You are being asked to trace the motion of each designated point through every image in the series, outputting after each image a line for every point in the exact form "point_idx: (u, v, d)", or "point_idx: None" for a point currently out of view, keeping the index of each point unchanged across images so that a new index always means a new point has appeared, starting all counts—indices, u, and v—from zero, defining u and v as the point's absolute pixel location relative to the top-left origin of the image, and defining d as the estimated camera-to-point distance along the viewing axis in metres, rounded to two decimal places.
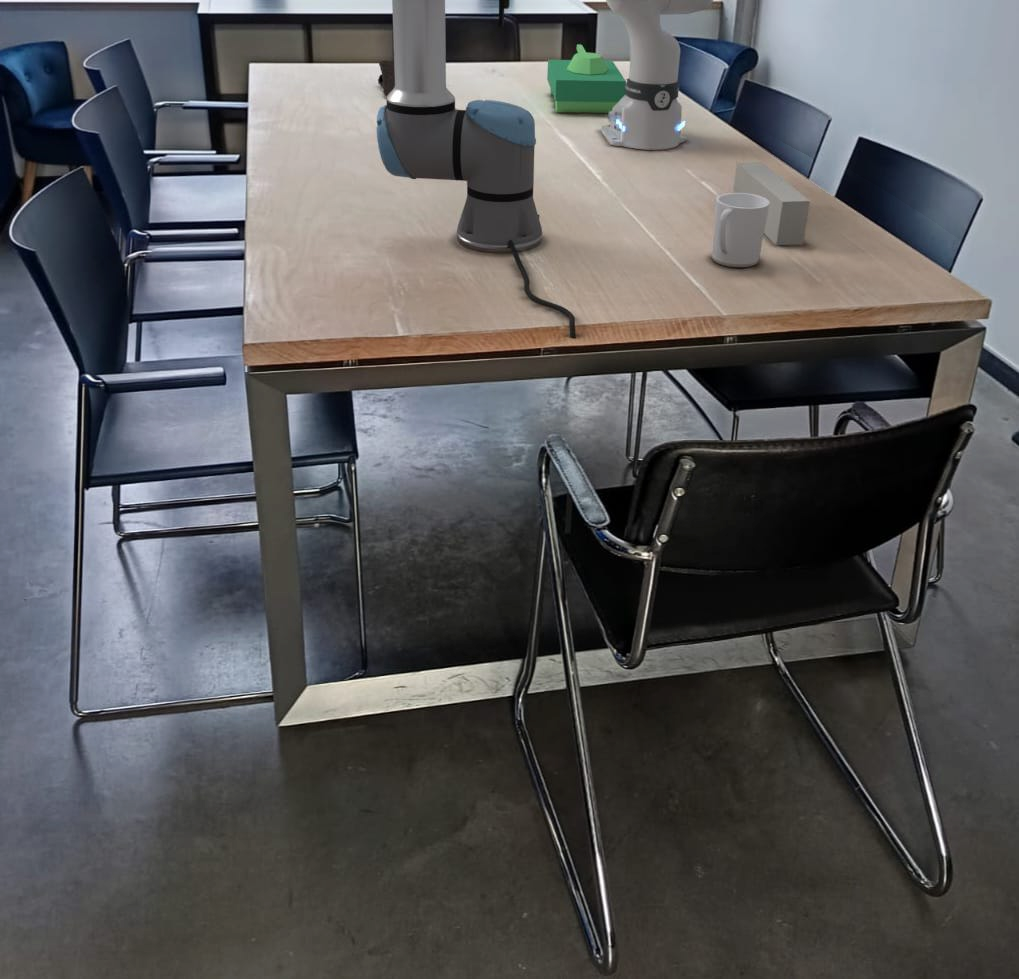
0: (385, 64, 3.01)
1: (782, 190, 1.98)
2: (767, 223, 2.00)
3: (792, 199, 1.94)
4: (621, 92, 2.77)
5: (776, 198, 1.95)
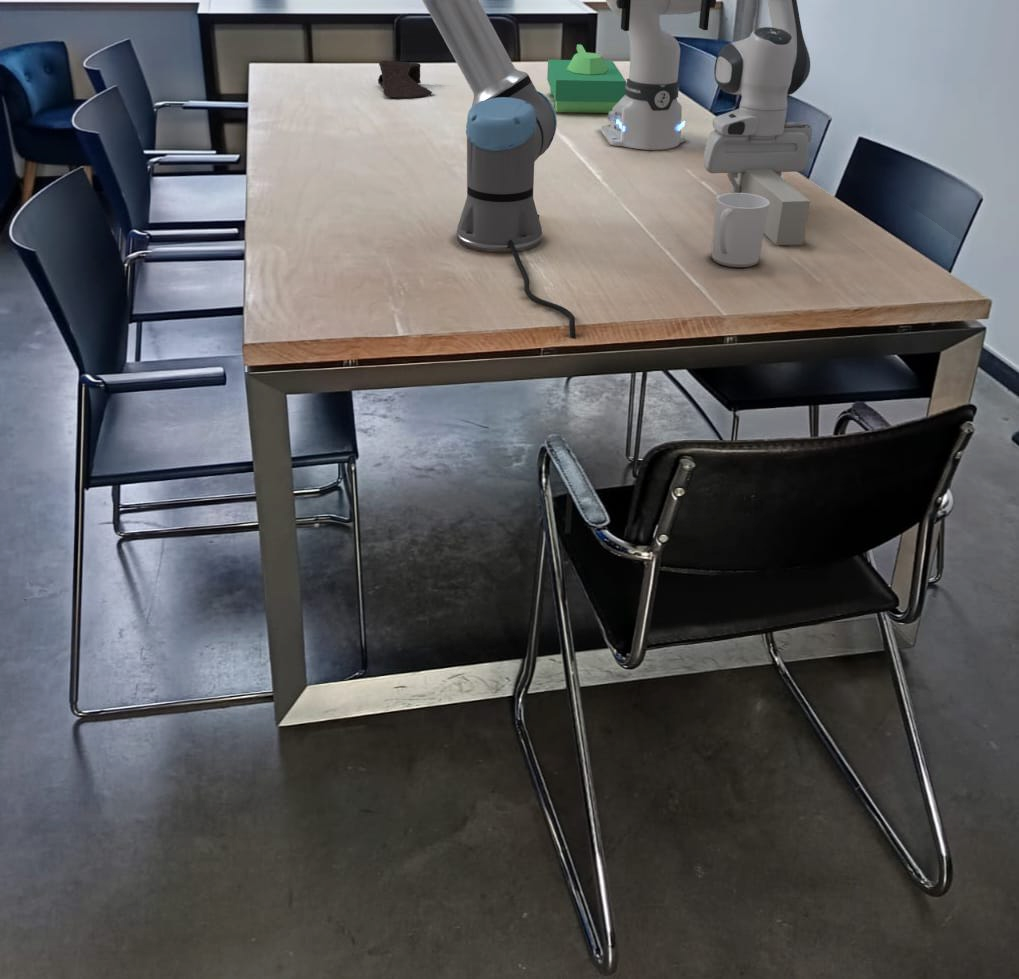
0: (385, 64, 3.01)
1: (782, 190, 1.98)
2: (767, 223, 2.00)
3: (792, 199, 1.94)
4: (621, 92, 2.77)
5: (776, 198, 1.95)
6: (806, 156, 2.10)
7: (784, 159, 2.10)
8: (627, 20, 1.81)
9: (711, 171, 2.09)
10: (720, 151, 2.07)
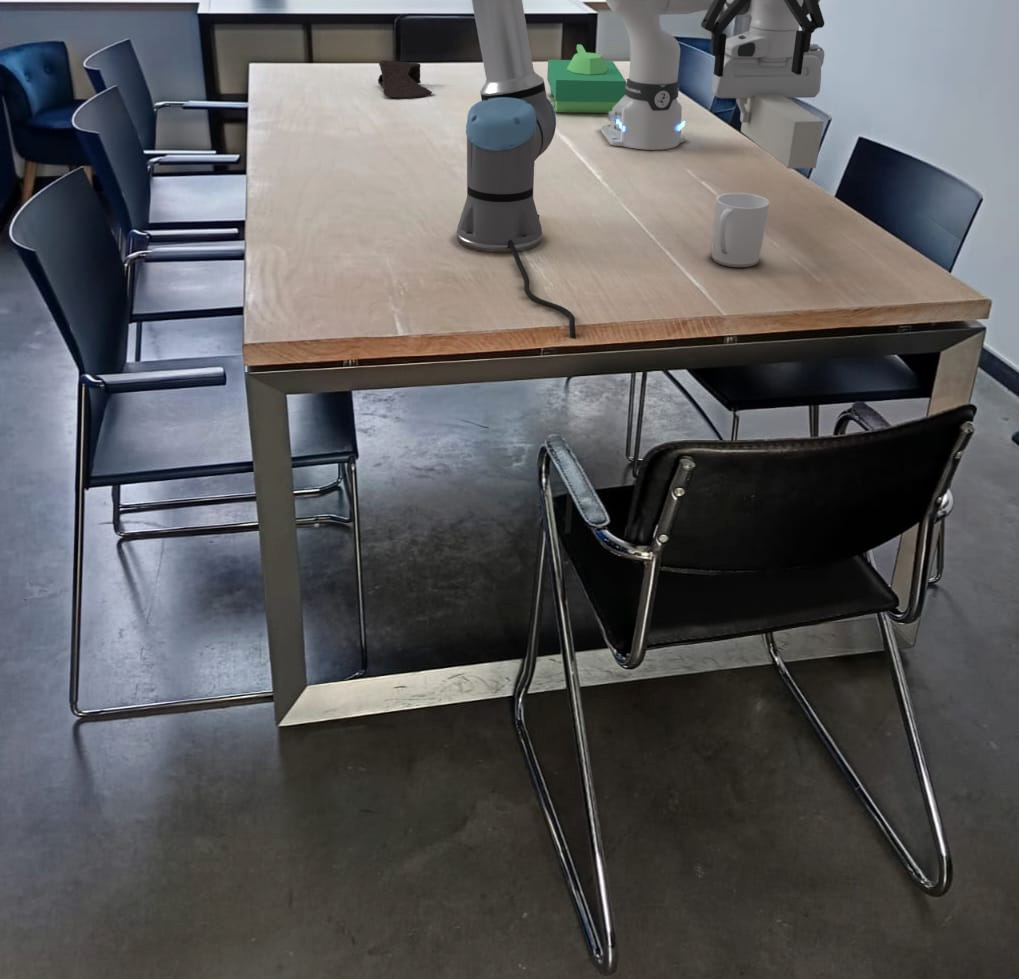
0: (385, 64, 3.01)
1: (794, 112, 1.91)
2: (778, 147, 1.93)
3: (804, 119, 1.87)
4: (621, 92, 2.77)
5: (788, 119, 1.88)
6: (818, 81, 2.03)
7: (795, 84, 2.03)
8: (721, 66, 1.81)
9: (720, 96, 2.02)
10: (729, 74, 2.00)
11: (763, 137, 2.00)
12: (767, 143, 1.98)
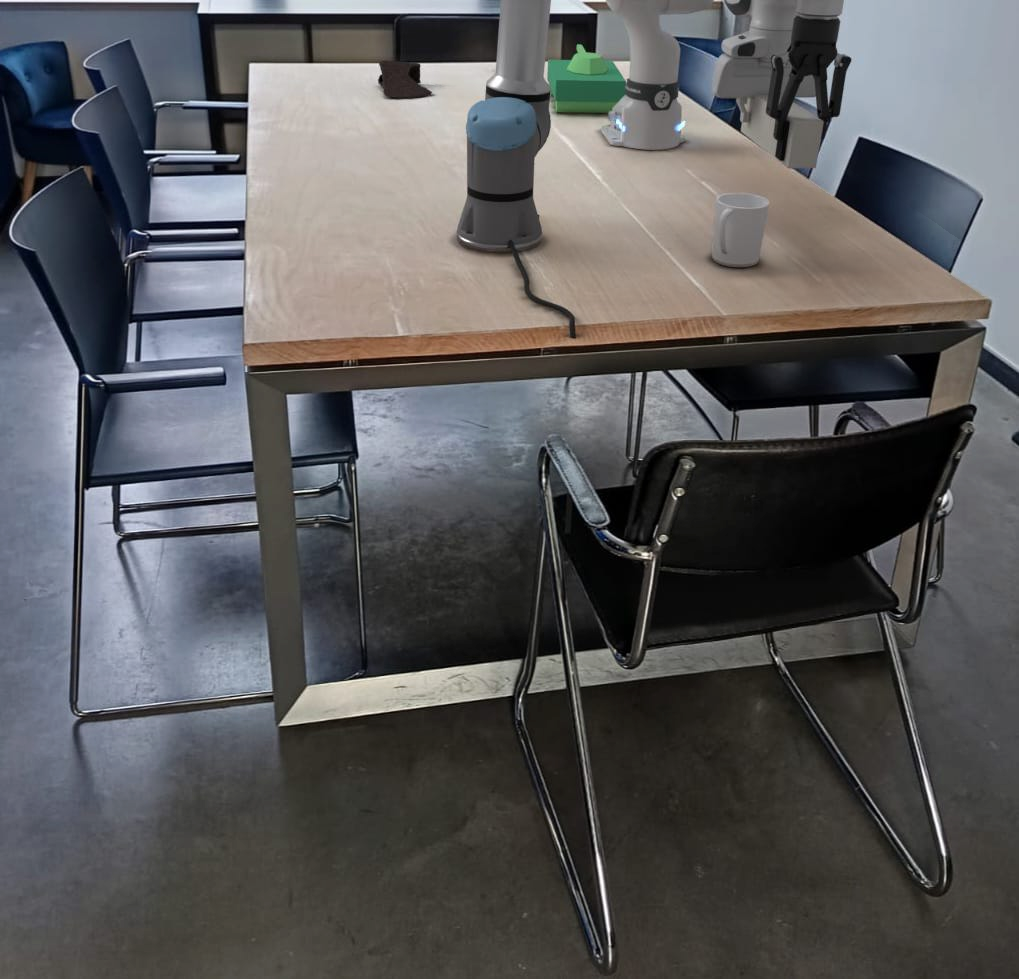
0: (385, 64, 3.01)
1: (794, 112, 1.91)
2: None
3: (804, 119, 1.87)
4: (621, 92, 2.77)
5: (788, 119, 1.88)
6: None
7: None
8: (783, 151, 1.90)
9: (719, 96, 2.02)
10: (729, 74, 2.00)
11: (763, 136, 2.00)
12: (767, 143, 1.98)
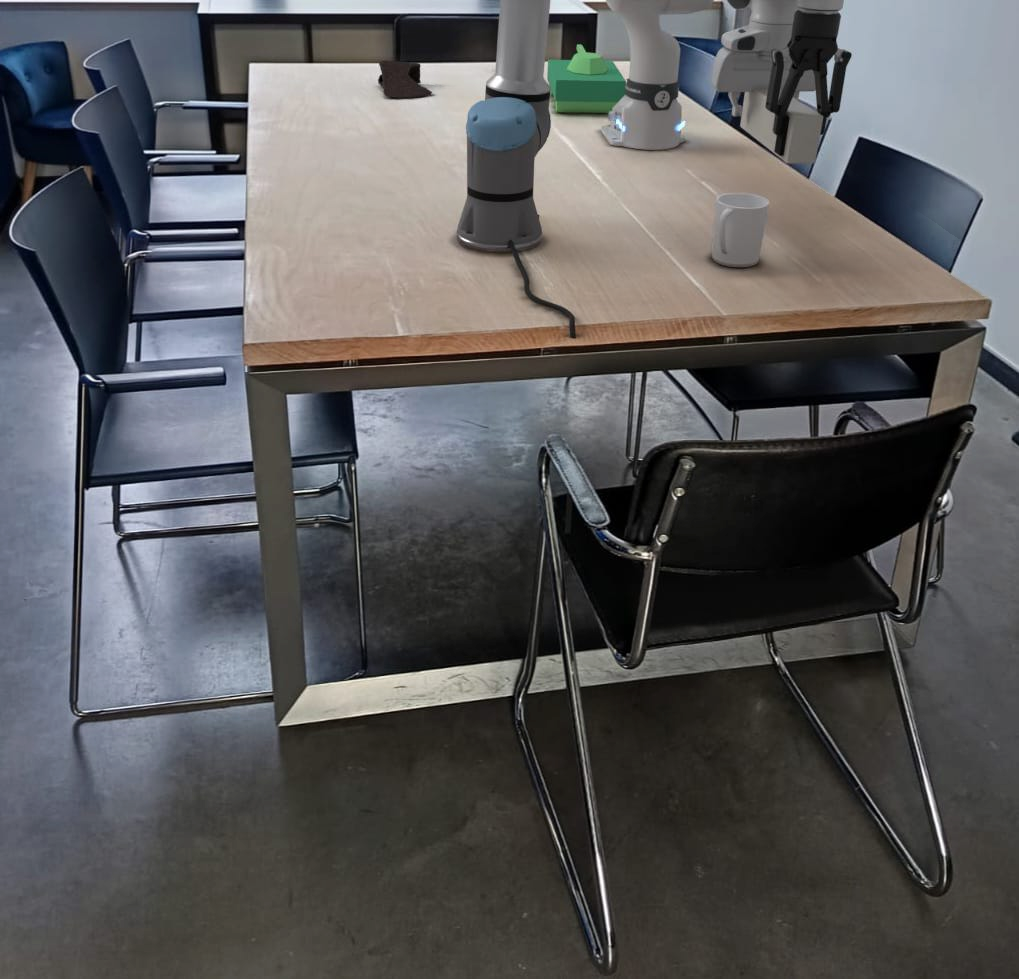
0: (385, 64, 3.01)
1: (794, 107, 1.91)
2: None
3: (804, 114, 1.86)
4: (621, 92, 2.77)
5: (788, 114, 1.88)
6: None
7: None
8: (783, 146, 1.90)
9: (719, 90, 2.02)
10: (729, 68, 2.00)
11: (763, 131, 1.99)
12: (766, 138, 1.98)
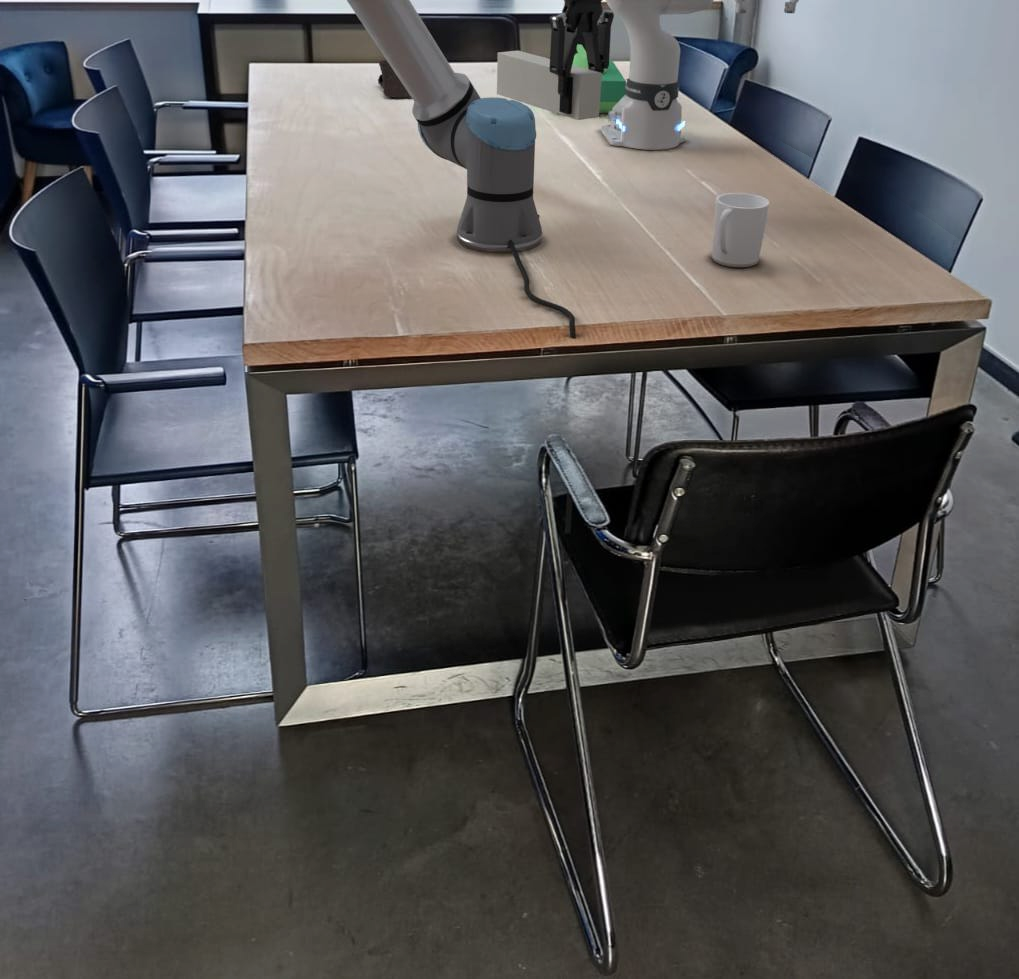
0: (385, 64, 3.01)
1: None
2: (559, 102, 2.07)
3: (585, 73, 2.02)
4: (621, 92, 2.77)
5: (570, 74, 2.02)
6: None
7: None
8: (570, 105, 2.04)
9: None
10: None
11: (534, 95, 2.12)
12: (541, 100, 2.11)
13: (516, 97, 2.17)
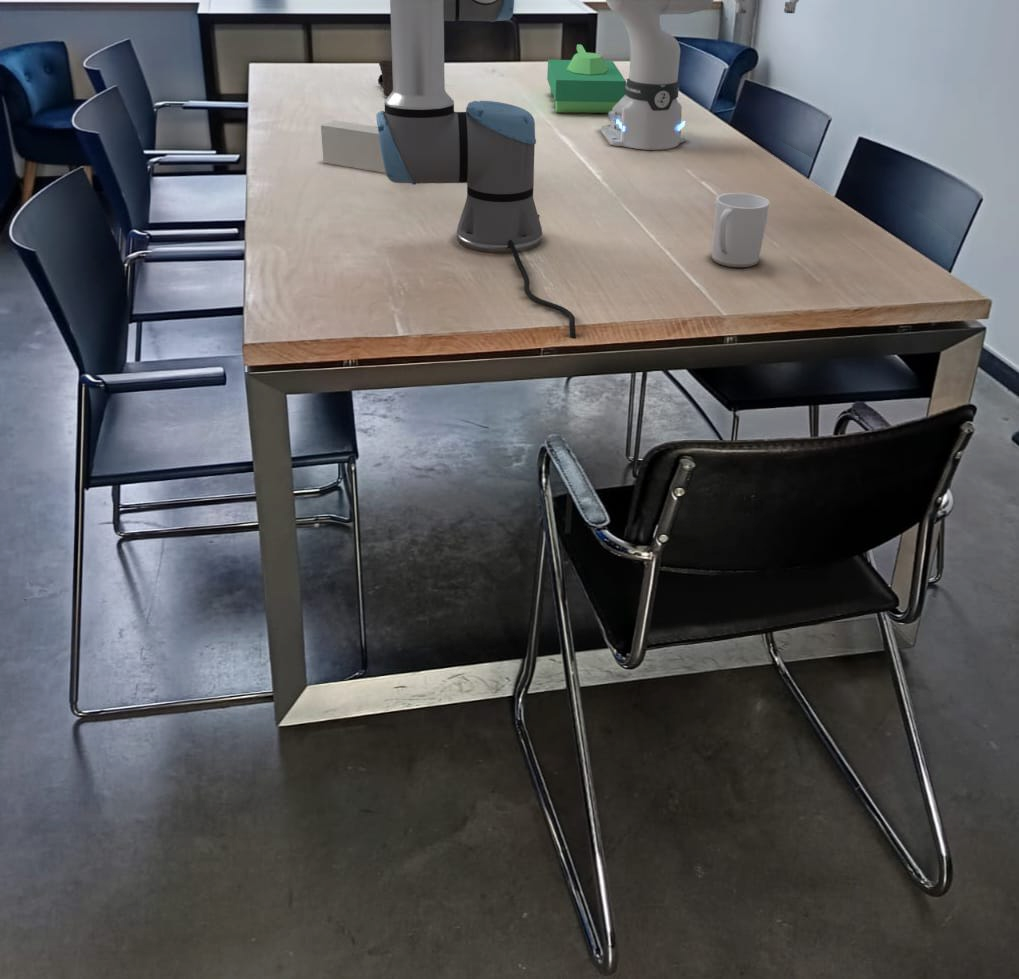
0: (385, 64, 3.01)
1: None
2: None
3: None
4: (621, 92, 2.77)
5: None
6: None
7: None
8: None
9: None
10: None
11: (371, 161, 2.32)
12: (381, 165, 2.31)
13: (348, 164, 2.34)
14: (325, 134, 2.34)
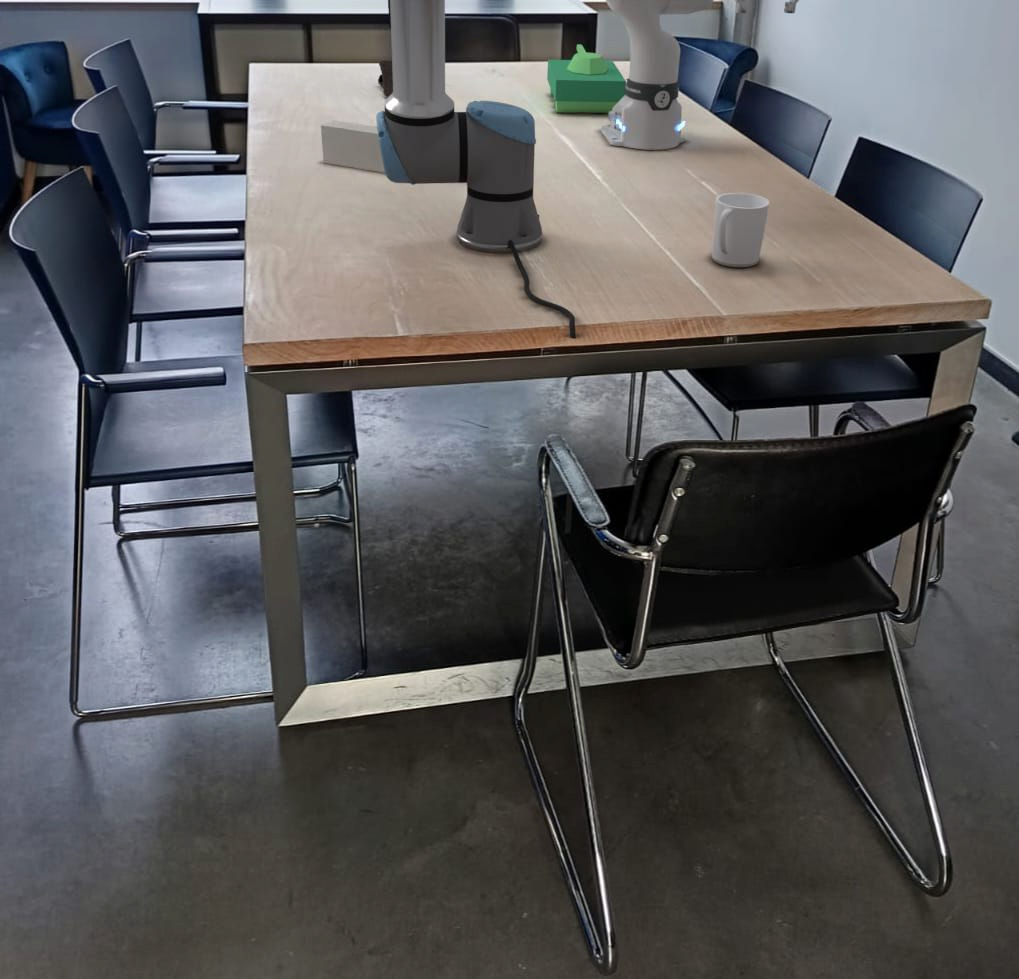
0: (385, 64, 3.01)
1: None
2: None
3: None
4: (621, 92, 2.77)
5: None
6: None
7: None
8: None
9: None
10: None
11: (371, 161, 2.32)
12: (381, 165, 2.31)
13: (348, 164, 2.34)
14: (325, 134, 2.34)
